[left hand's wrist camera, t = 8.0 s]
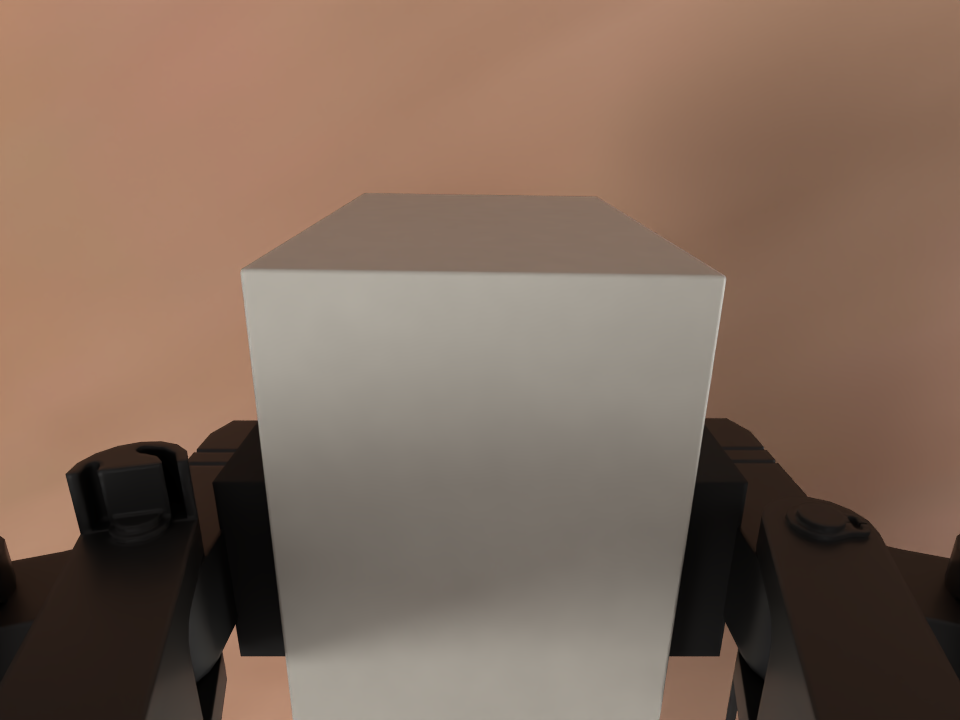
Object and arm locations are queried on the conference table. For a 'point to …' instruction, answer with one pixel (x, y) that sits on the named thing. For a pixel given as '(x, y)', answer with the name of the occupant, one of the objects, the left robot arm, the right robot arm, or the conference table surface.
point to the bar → (479, 454)
